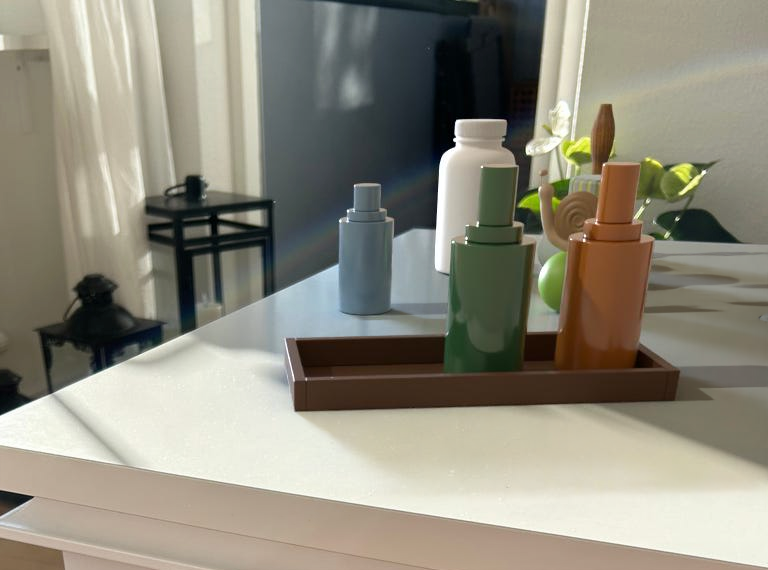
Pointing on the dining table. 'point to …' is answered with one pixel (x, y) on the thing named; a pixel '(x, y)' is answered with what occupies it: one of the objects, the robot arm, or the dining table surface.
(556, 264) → the snail figurine
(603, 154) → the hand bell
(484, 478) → the dining table surface
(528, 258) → the green bottle
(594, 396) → the tray
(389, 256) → the blue bottle
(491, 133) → the pill bottle
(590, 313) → the amber bottle
